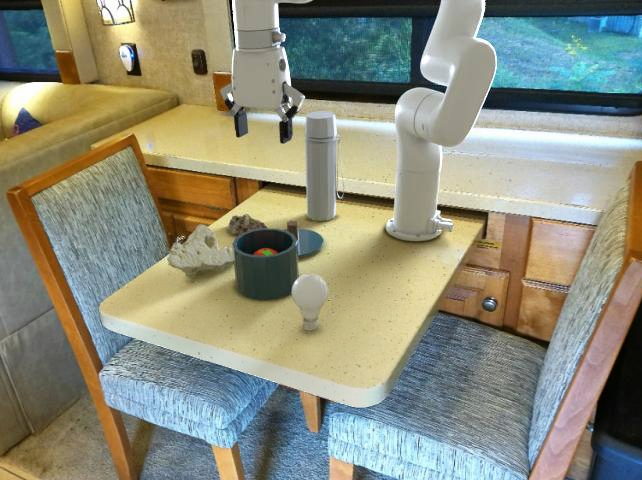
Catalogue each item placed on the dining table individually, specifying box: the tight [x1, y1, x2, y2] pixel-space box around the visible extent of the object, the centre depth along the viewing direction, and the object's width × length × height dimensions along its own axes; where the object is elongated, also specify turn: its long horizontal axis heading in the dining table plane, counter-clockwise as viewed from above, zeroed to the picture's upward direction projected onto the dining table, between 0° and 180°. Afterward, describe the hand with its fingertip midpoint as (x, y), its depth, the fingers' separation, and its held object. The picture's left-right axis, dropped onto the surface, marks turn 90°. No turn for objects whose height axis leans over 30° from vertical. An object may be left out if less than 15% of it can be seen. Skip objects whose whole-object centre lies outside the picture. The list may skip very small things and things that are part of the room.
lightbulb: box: [291, 273, 329, 332], centre depth 104 cm, size 6×6×11 cm
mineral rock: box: [228, 213, 268, 236], centre depth 143 cm, size 11×4×8 cm
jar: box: [231, 227, 300, 301], centre depth 119 cm, size 13×13×10 cm
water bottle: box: [304, 110, 345, 222], centre depth 141 cm, size 9×8×25 cm
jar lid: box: [282, 220, 325, 259], centre depth 134 cm, size 14×14×6 cm
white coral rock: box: [167, 223, 234, 281], centre depth 126 cm, size 15×7×15 cm
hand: (263, 138), depth 111 cm, fingers open, 9 cm apart
